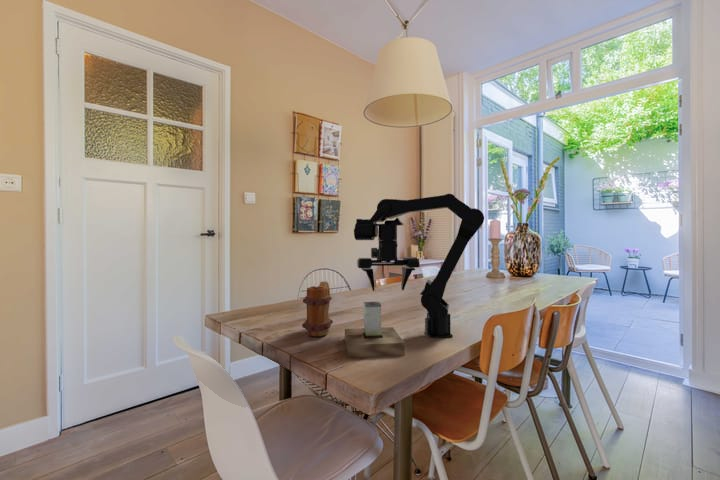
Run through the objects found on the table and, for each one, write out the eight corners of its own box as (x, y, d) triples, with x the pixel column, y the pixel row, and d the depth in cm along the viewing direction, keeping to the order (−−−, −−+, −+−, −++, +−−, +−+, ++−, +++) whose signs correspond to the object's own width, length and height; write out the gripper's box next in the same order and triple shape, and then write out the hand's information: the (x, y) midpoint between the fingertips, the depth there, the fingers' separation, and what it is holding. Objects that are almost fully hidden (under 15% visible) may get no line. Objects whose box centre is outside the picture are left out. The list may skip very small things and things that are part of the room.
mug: (325, 340, 92) (325, 287, 92) (298, 338, 94) (298, 286, 94) (339, 326, 107) (339, 280, 107) (315, 325, 108) (315, 279, 108)
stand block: (392, 337, 95) (392, 325, 95) (404, 354, 81) (404, 340, 81) (344, 339, 93) (344, 327, 93) (348, 357, 79) (348, 343, 79)
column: (378, 330, 89) (378, 301, 89) (381, 335, 85) (381, 304, 85) (364, 331, 89) (363, 301, 89) (365, 335, 85) (365, 305, 85)
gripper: (410, 239, 110) (410, 285, 110) (355, 240, 108) (355, 287, 108) (420, 240, 99) (420, 291, 99) (358, 240, 97) (359, 292, 97)
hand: (388, 290), depth 101 cm, fingers open, 9 cm apart
